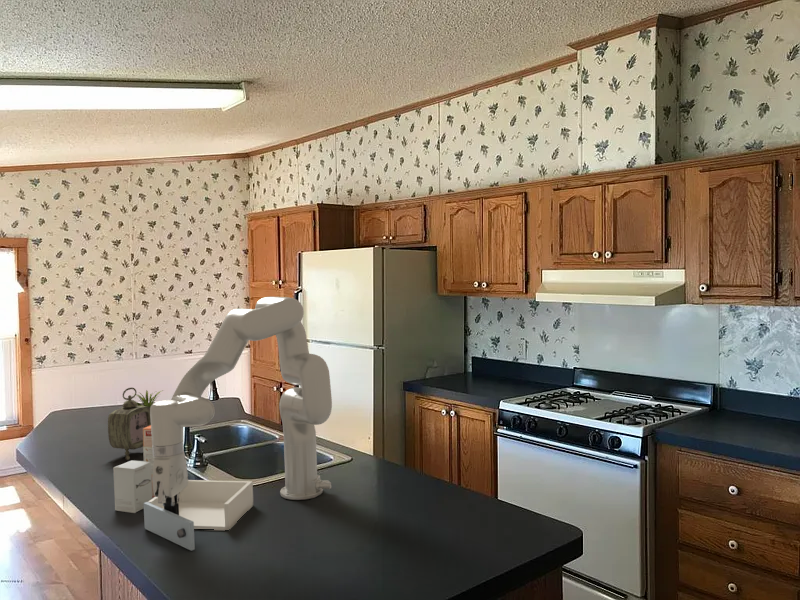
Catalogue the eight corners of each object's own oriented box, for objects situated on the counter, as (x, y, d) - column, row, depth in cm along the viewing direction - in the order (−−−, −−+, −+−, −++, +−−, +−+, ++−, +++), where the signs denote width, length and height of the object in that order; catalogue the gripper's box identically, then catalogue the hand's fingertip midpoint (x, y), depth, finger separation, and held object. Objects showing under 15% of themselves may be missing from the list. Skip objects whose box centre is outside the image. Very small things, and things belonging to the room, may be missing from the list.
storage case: (253, 505, 193) (252, 481, 192) (228, 530, 175) (227, 504, 175) (180, 503, 196) (179, 479, 195) (148, 528, 178) (147, 501, 178)
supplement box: (135, 513, 189) (133, 469, 188) (114, 510, 191) (112, 466, 191) (153, 504, 196) (151, 461, 195) (133, 501, 198) (130, 459, 198)
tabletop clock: (128, 462, 239) (124, 392, 237) (107, 460, 242) (103, 391, 240) (155, 451, 252) (152, 384, 251) (135, 449, 255) (132, 383, 254)
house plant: (154, 421, 302) (153, 384, 301) (173, 424, 293) (172, 387, 293) (125, 427, 290) (123, 390, 289) (144, 432, 282) (142, 393, 281)
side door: (194, 549, 163) (193, 521, 163) (186, 552, 162) (185, 524, 161) (148, 527, 178) (147, 501, 177) (140, 530, 176) (139, 504, 176)
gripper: (167, 458, 165) (171, 531, 166) (195, 441, 180) (198, 508, 181) (138, 457, 167) (143, 530, 168) (168, 441, 181) (172, 508, 182)
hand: (172, 519), depth 174 cm, fingers closed
